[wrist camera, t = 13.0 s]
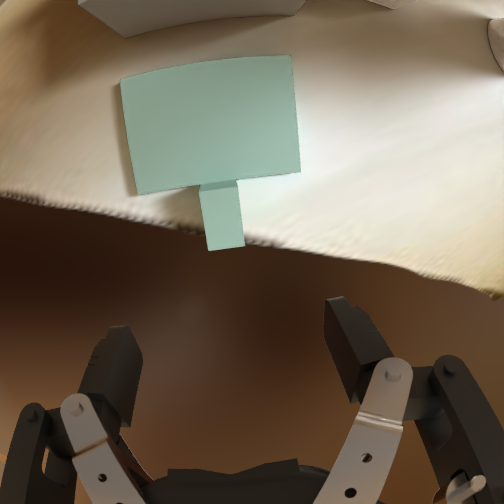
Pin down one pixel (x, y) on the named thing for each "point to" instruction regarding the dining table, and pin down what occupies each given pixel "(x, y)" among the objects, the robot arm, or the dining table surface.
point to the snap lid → (212, 132)
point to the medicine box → (392, 3)
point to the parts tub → (180, 12)
